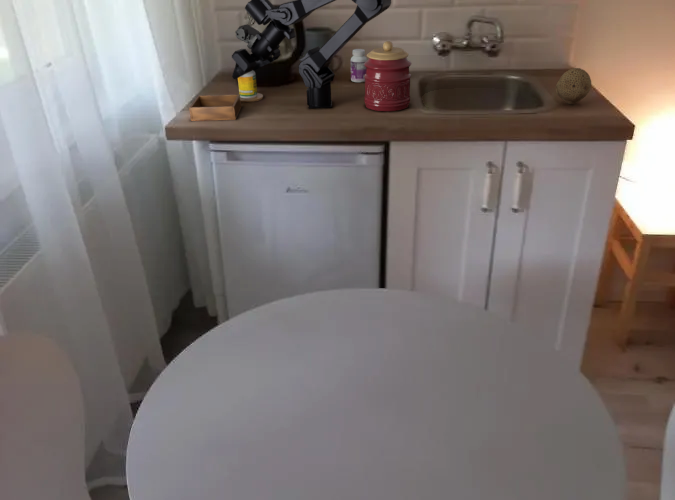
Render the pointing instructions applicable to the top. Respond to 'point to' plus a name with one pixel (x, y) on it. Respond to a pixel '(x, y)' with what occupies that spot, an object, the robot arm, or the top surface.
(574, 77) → the natural sponge
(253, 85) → the supplement bottle
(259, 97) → the coaster
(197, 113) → the wooden tray
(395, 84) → the kitchen canister
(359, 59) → the pill bottle
